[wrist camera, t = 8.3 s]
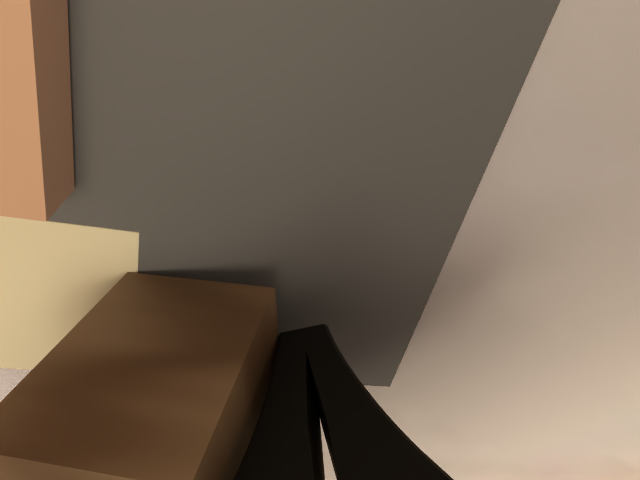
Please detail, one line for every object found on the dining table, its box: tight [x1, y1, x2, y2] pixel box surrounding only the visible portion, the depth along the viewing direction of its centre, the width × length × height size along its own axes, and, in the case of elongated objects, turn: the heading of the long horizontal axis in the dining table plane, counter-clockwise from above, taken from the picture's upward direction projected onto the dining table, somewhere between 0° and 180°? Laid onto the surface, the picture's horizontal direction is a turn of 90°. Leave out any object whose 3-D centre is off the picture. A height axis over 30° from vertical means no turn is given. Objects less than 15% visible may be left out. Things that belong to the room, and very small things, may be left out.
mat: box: [0, 0, 560, 386], centre depth 8 cm, size 20×19×1 cm
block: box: [0, 272, 278, 480], centre depth 10 cm, size 4×4×5 cm
